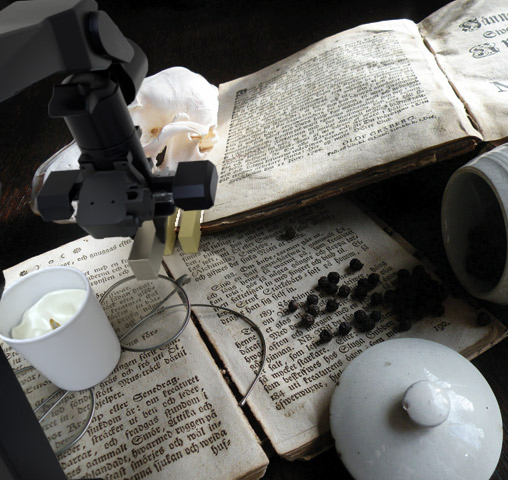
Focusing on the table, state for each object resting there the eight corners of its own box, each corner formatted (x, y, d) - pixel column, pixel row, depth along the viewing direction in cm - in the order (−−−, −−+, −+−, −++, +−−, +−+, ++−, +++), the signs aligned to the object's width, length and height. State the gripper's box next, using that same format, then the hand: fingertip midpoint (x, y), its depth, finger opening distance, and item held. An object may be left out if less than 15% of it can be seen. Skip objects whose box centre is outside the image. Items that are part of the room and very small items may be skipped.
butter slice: (184, 254, 69) (177, 237, 67) (192, 212, 76) (186, 195, 73) (197, 253, 69) (191, 236, 67) (204, 211, 76) (199, 195, 73)
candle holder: (29, 397, 55) (-31, 341, 46) (64, 326, 61) (17, 265, 53) (112, 398, 54) (66, 341, 45) (138, 326, 61) (102, 264, 52)
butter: (142, 257, 69) (134, 240, 67) (153, 215, 76) (147, 198, 73) (172, 254, 69) (165, 238, 67) (181, 213, 76) (175, 196, 73)
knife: (157, 279, 55) (148, 259, 53) (137, 280, 55) (126, 261, 53) (181, 182, 68) (174, 163, 65) (164, 184, 68) (157, 164, 65)
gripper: (-25, 192, 42) (55, 300, 53) (187, 177, 42) (222, 288, 53) (24, 123, 49) (85, 230, 60) (202, 110, 49) (230, 219, 60)
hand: (153, 242), depth 58 cm, fingers closed on knife, 2 cm apart
